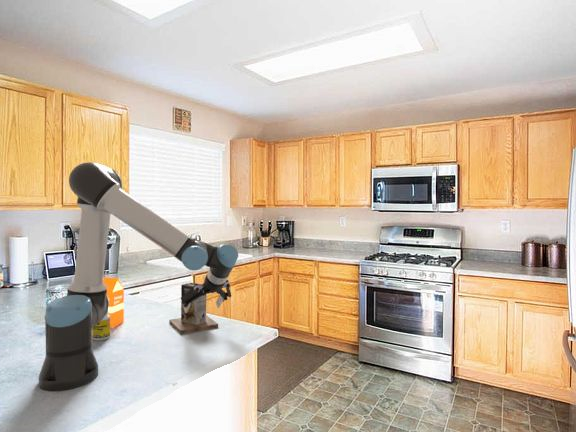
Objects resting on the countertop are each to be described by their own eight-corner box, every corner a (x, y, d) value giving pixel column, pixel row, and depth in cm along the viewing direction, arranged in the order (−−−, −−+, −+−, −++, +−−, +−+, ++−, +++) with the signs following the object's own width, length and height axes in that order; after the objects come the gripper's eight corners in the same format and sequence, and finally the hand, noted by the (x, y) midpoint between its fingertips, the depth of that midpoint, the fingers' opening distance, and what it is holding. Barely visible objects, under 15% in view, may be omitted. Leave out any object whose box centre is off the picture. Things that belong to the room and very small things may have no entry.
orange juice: (112, 327, 153) (112, 279, 152) (93, 325, 154) (93, 278, 154) (124, 321, 160) (124, 276, 160) (106, 320, 162) (106, 275, 161)
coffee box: (180, 322, 156) (180, 284, 155) (191, 318, 161) (191, 282, 161) (196, 325, 151) (196, 287, 151) (206, 321, 157) (207, 284, 156)
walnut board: (180, 334, 145) (180, 330, 145) (169, 323, 159) (169, 319, 159) (218, 327, 154) (218, 323, 154) (204, 317, 167) (204, 314, 167)
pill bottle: (90, 341, 137) (90, 312, 136) (94, 335, 142) (94, 307, 142) (108, 340, 138) (108, 311, 138) (111, 334, 144) (111, 306, 144)
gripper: (185, 289, 126) (172, 320, 139) (249, 281, 140) (232, 310, 152) (181, 271, 130) (168, 303, 143) (243, 266, 144) (227, 295, 157)
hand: (201, 307), depth 148 cm, fingers open, 13 cm apart
